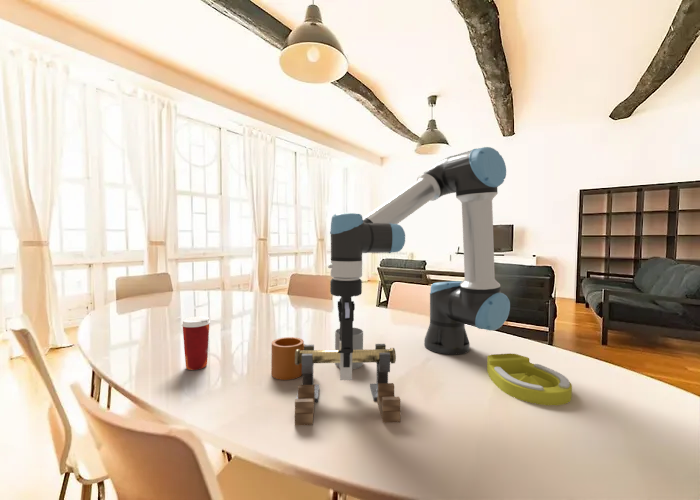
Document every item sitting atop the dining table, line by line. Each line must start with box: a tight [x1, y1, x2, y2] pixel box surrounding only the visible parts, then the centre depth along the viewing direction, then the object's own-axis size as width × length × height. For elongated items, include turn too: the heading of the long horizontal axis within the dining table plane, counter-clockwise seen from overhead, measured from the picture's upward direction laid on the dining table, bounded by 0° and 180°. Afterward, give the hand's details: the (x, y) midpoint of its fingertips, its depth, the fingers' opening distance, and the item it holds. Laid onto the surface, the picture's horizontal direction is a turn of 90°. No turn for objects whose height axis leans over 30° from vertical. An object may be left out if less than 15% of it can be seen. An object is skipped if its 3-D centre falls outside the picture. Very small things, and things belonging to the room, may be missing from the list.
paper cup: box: [181, 315, 211, 371], centre depth 94 cm, size 8×8×14 cm
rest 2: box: [376, 382, 401, 424], centre depth 69 cm, size 4×8×5 cm, turn 3°
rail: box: [295, 347, 397, 365], centre depth 77 cm, size 24×4×4 cm, turn 93°
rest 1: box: [294, 384, 316, 427], centre depth 68 cm, size 4×8×5 cm, turn 3°
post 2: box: [369, 343, 396, 402], centre depth 78 cm, size 5×7×11 cm
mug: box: [270, 336, 315, 381], centre depth 89 cm, size 9×12×9 cm
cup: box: [334, 327, 364, 370], centre depth 96 cm, size 8×8×10 cm
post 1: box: [295, 344, 320, 403], centre depth 77 cm, size 5×7×11 cm
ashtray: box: [486, 353, 573, 406], centre depth 83 cm, size 16×21×5 cm
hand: (345, 372), depth 77 cm, fingers open, 6 cm apart
